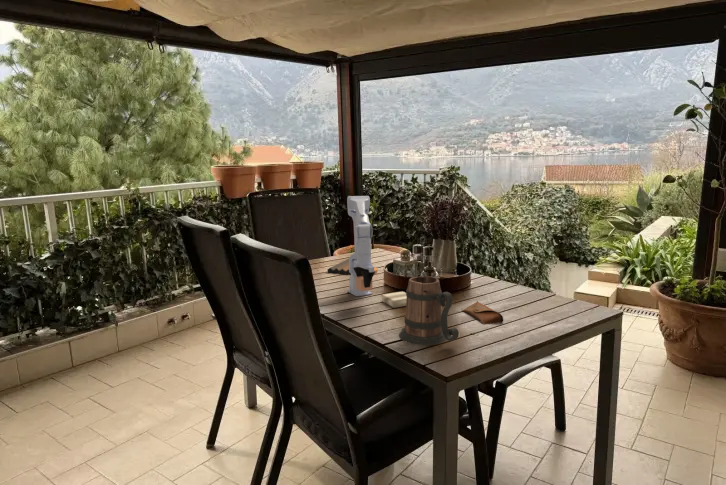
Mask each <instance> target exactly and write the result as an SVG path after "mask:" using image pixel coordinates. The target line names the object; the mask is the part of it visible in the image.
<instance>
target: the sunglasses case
mask: <svg viewBox="0 0 726 485" xmlns="http://www.w3.org/2000/svg"><path fill="white" fill-rule="evenodd" d="M461 312H463V313H464V314H467V315H468V316H470V317H472V318H474V319H475V320H476V321H479V322H480V323H481V324H482V325H491V324H499V323H500V324H501V323H503V322H504V316H503V315H502V314H501V313H500V312H499V311H496V310H494V309H492V308H490V307H489V306H487V305H485V304H482V303H481V302H479V301H478V300H476V302H474V303H473V304H471V305H469V306H467V307H466V308H463V310H461Z"/></svg>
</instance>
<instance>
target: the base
mask: <svg viewBox="0 0 726 485" xmlns="http://www.w3.org/2000/svg"><path fill="white" fill-rule="evenodd" d="M381 300H382V303H384V304H386V305H389V307H392V308H394V309H395V308H400V307H406V300H407V296H406V292H405V291H403V290H402V291H396V292H390V293H384V294H382V295H381Z"/></svg>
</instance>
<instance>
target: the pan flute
mask: <svg viewBox="0 0 726 485" xmlns="http://www.w3.org/2000/svg"><path fill="white" fill-rule="evenodd" d="M373 267H374V271H375V274H376V273H378V271H379V270H378V268H377V267H375V266H373ZM326 270H327V272H328V273H329V274H333V272H334V274H337V273H339V274H340V275H348V274H351V273H350V272H349V258H346V259H345V260H343V261H340V262H339V263H337V264H335V265H332V266H331V267H329V268H327V269H326Z"/></svg>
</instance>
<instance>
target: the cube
mask: <svg viewBox="0 0 726 485" xmlns="http://www.w3.org/2000/svg"><path fill="white" fill-rule="evenodd" d="M356 289H358V290H360V291H372V290H373V279H372V280H371V284H370V287H367V288H365V286H364V280H363V276H358V277H356Z"/></svg>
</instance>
